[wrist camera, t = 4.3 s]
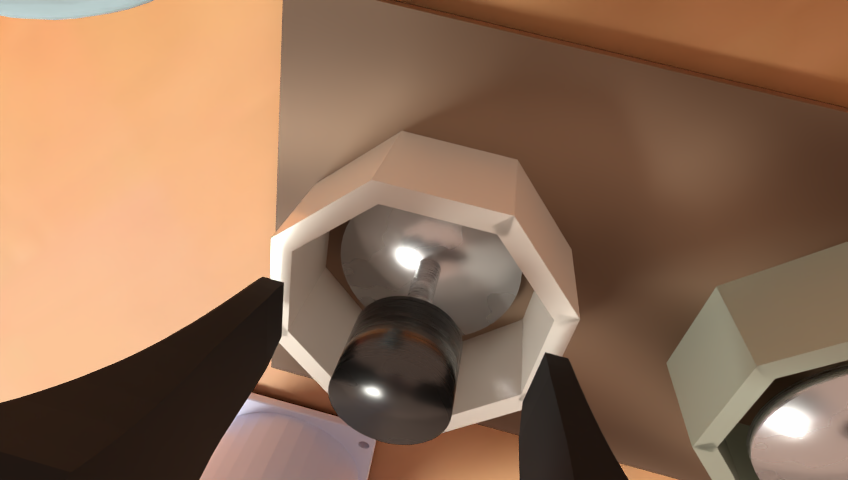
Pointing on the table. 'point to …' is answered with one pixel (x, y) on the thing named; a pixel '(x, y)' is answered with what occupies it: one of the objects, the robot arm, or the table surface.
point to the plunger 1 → (414, 319)
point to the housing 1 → (449, 201)
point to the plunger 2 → (803, 430)
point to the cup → (64, 8)
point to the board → (580, 180)
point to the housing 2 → (757, 350)
